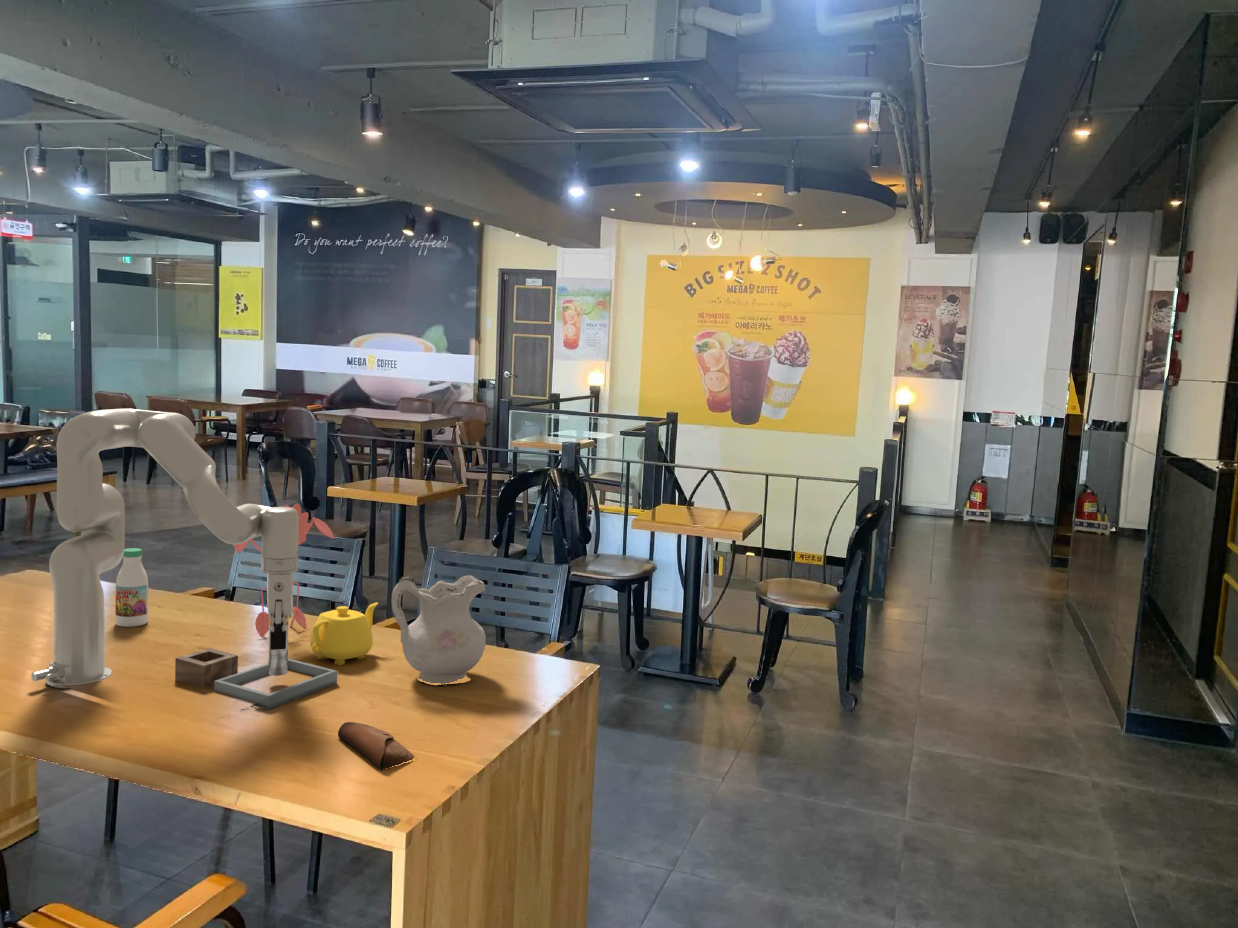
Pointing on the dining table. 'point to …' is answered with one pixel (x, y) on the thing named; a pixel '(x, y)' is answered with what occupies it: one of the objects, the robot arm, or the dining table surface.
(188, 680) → the holder block
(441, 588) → the ceramic pitcher
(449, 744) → the dining table surface
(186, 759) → the dining table surface
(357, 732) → the sunglasses case
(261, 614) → the figurine
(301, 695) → the tray
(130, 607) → the milk bottle
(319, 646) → the teapot
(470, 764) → the dining table surface
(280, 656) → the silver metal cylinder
